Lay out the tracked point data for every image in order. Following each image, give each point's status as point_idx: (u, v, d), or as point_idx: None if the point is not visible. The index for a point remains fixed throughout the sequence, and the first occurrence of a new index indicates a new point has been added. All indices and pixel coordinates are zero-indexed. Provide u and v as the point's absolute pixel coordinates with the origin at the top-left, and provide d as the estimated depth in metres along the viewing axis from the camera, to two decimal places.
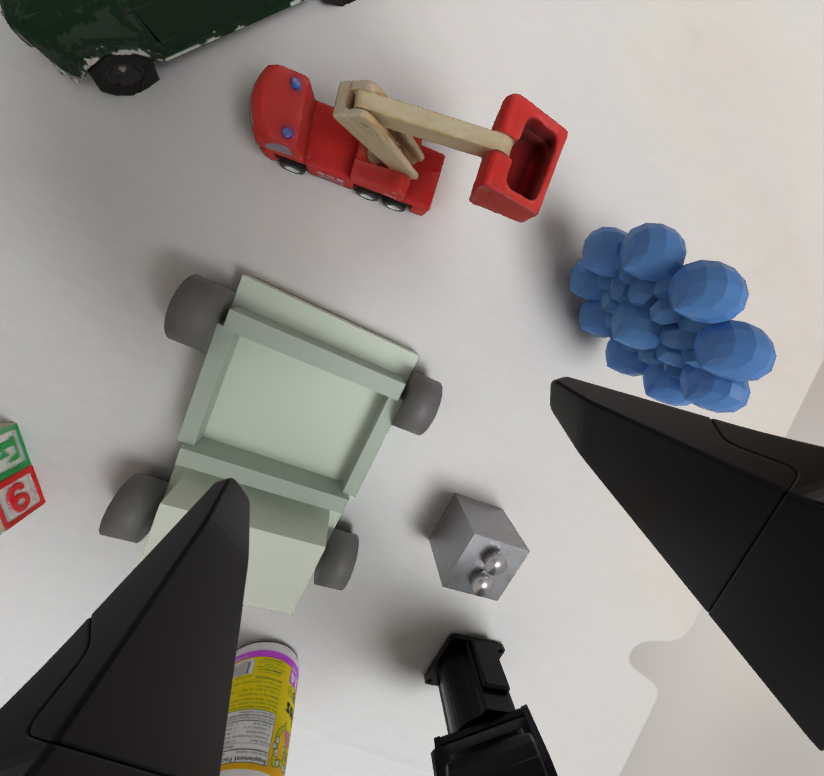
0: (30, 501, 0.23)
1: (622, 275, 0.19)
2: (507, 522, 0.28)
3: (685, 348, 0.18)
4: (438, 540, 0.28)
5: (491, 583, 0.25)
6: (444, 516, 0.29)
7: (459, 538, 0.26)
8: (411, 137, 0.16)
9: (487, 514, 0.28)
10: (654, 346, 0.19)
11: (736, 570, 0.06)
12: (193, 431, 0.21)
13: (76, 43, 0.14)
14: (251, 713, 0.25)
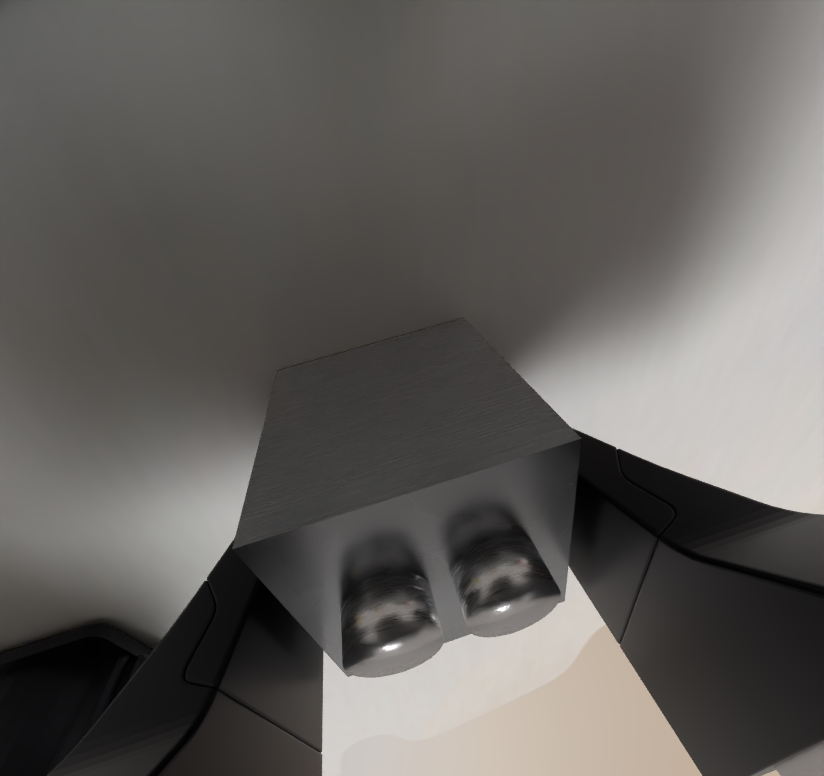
0: None
1: None
2: None
3: None
4: (320, 387, 0.07)
5: (431, 650, 0.06)
6: (385, 347, 0.08)
7: (450, 418, 0.06)
8: None
9: None
10: None
11: (633, 607, 0.06)
12: None
13: None
14: None
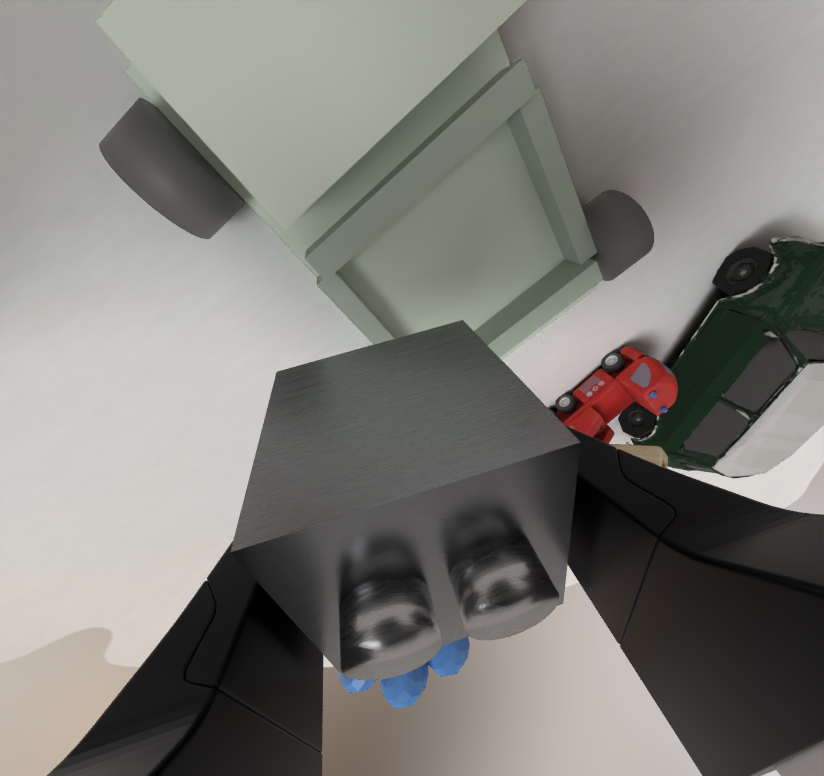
0: None
1: None
2: None
3: None
4: (319, 389, 0.07)
5: (429, 653, 0.06)
6: (384, 349, 0.08)
7: (448, 421, 0.06)
8: None
9: None
10: None
11: (633, 607, 0.06)
12: (533, 124, 0.14)
13: (789, 272, 0.20)
14: None
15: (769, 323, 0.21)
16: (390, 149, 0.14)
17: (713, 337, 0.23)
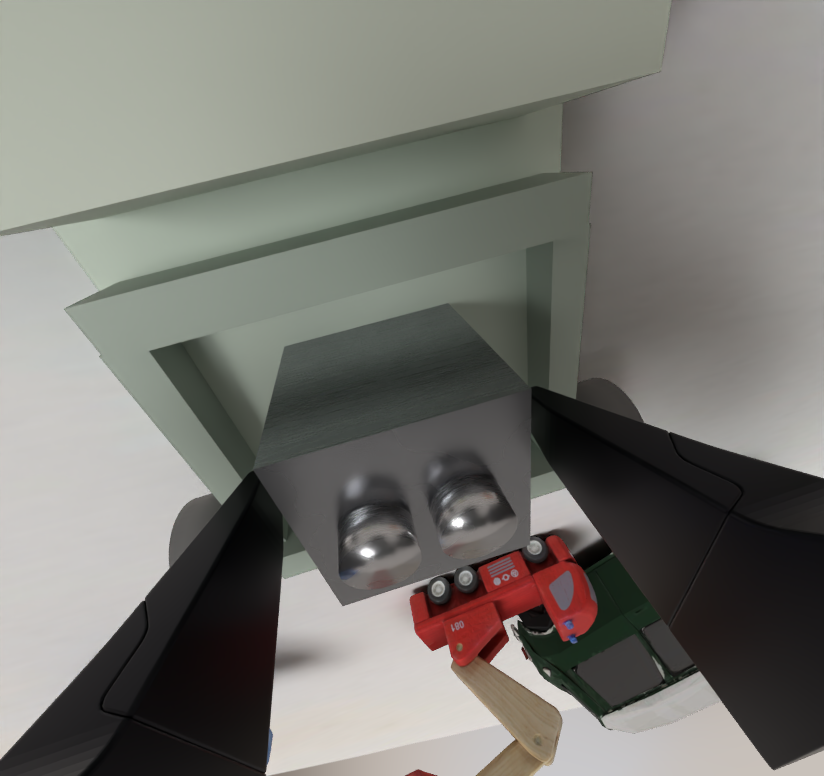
0: None
1: None
2: None
3: None
4: (321, 358, 0.09)
5: (411, 566, 0.07)
6: (378, 326, 0.10)
7: (429, 378, 0.07)
8: (482, 702, 0.17)
9: None
10: None
11: (690, 586, 0.06)
12: (562, 269, 0.09)
13: None
14: None
15: None
16: (336, 195, 0.08)
17: None
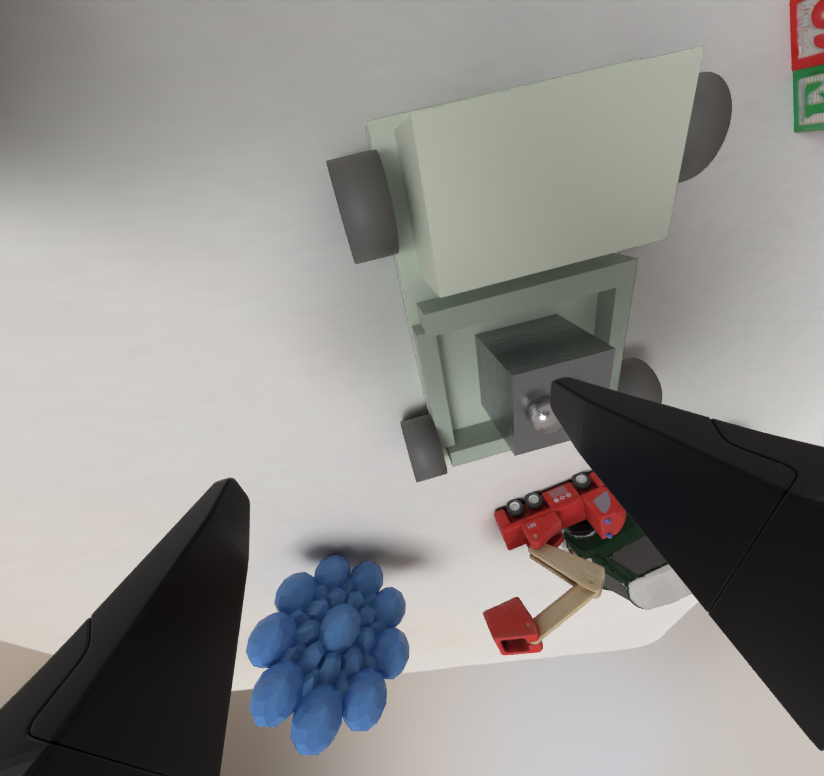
0: (813, 8, 0.15)
1: (381, 625, 0.25)
2: None
3: (322, 675, 0.21)
4: (503, 339, 0.18)
5: None
6: (524, 325, 0.19)
7: (568, 345, 0.16)
8: None
9: None
10: (326, 644, 0.22)
11: (736, 570, 0.06)
12: (619, 298, 0.18)
13: None
14: None
15: None
16: None
17: None
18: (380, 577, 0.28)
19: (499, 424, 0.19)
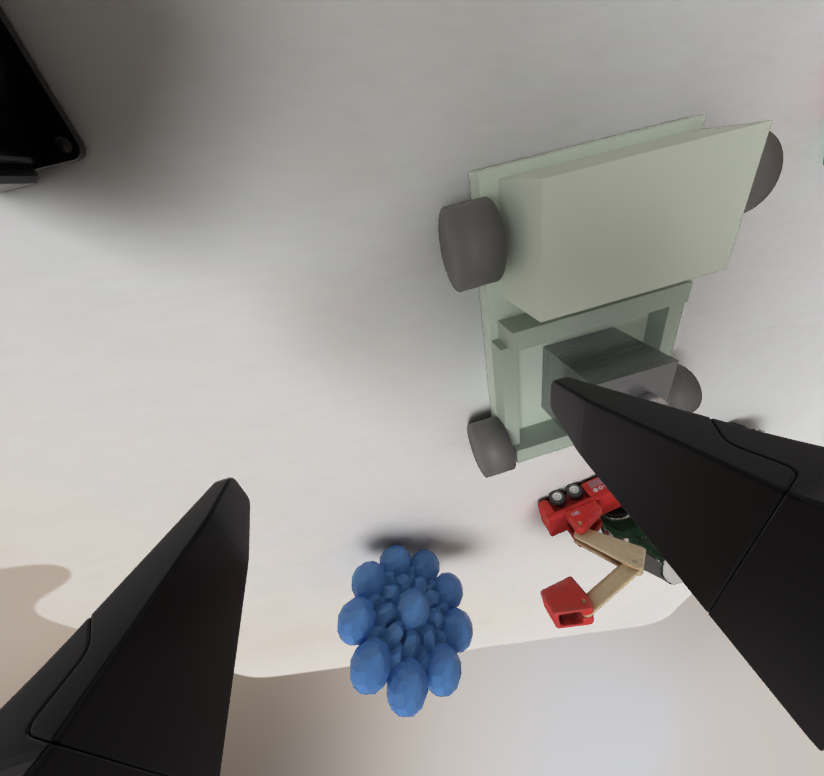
0: None
1: (446, 606, 0.28)
2: None
3: (406, 649, 0.24)
4: (572, 351, 0.21)
5: None
6: (586, 338, 0.22)
7: (634, 358, 0.19)
8: (595, 553, 0.29)
9: None
10: (405, 623, 0.25)
11: (737, 570, 0.06)
12: (671, 314, 0.21)
13: None
14: None
15: None
16: None
17: None
18: (438, 564, 0.31)
19: None
